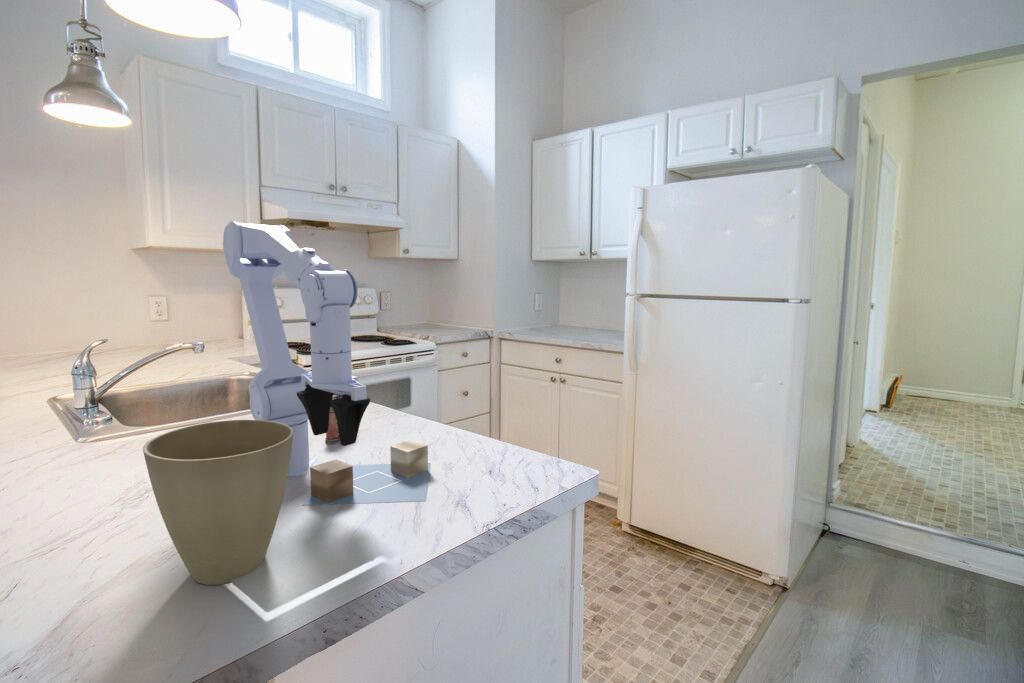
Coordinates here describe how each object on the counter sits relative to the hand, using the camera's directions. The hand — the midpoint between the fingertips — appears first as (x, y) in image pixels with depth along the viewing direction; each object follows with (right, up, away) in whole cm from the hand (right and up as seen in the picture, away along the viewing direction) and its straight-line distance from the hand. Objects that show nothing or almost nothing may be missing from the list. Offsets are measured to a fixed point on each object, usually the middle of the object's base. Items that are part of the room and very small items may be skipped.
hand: (334, 438), depth 79 cm
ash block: (+9, -8, +11) cm, 16 cm away
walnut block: (0, -9, +1) cm, 9 cm away
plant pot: (-6, -12, -18) cm, 23 cm away
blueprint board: (+4, -9, +6) cm, 11 cm away
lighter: (-9, -6, +30) cm, 32 cm away
